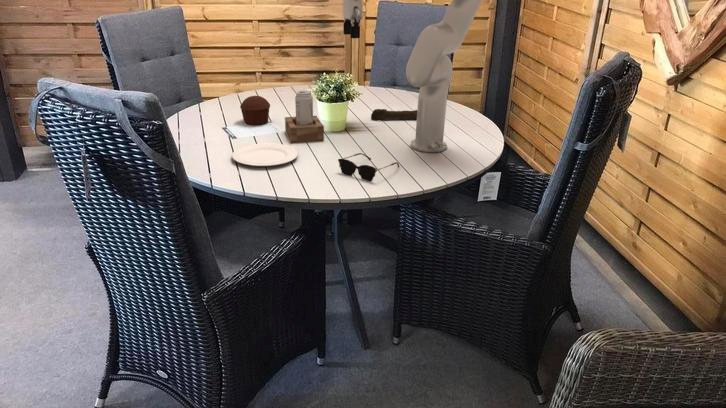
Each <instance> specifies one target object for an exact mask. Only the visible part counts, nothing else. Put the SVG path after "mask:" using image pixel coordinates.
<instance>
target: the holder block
mask: <svg viewBox="0 0 726 408" xmlns="http://www.w3.org/2000/svg"><path fill="white" fill-rule="evenodd" d="M284 124H285V126H284V128H285V129H284V130H285V134H286V135H287V138H288V140H289V142H290V143H291V144H304V143H306V144H307V143H321V142H322V143H323V142H325V126H324V124H323V123H322V121H321V120H320V118H319V117H318V116H317V115H313V124H310V125H296V116H284Z"/></svg>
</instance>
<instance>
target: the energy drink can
mask: <svg viewBox="0 0 726 408" xmlns="http://www.w3.org/2000/svg"><path fill="white" fill-rule="evenodd" d="M294 98H295V99H294V100H295V117H296V125H310V124H313V116H314V109H313V108H314V102H313V101H314V99H313V98H314V97H313V95H312V93H311V91H309V90H298V91H297V92H296V95H295V97H294Z"/></svg>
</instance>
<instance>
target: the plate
mask: <svg viewBox="0 0 726 408" xmlns="http://www.w3.org/2000/svg"><path fill="white" fill-rule="evenodd" d="M298 156H299V153H298V150H297V149H296V148H294V147H292V146H290V145H286V144H282V143H273V142H272V143H271V142H268V143H267V142H266V143H265V142H263V143H252V144H248V145H244V146H241V147H239V148H237V149H236V150H234V151H233V152H232V154H231V158H232V159H233V161H235V162H236V163H238V164H240V165H241V164H242V165H243V166H244V165H245V166H250V167H254V168H255V167H256V168H257V167H258V168H272V167H278V166H282V165H285V164H289V163H291V162H293V161H294V160H296V159H297V157H298Z"/></svg>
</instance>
